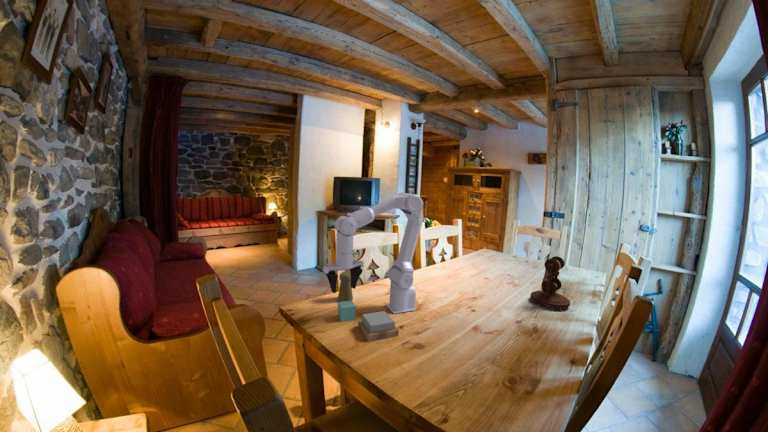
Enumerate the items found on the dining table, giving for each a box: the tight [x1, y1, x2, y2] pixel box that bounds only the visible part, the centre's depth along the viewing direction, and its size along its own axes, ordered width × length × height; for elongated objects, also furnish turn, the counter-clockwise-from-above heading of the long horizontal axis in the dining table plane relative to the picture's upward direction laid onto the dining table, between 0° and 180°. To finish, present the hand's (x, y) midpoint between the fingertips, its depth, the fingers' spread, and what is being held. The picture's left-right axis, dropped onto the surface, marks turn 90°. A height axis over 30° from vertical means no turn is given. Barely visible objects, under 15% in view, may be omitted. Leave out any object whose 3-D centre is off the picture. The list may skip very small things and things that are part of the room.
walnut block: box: [357, 319, 400, 342], centre depth 98 cm, size 10×10×2 cm
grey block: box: [361, 310, 396, 333], centre depth 98 cm, size 8×8×2 cm
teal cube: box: [337, 300, 357, 322], centre depth 106 cm, size 5×5×5 cm
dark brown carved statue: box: [530, 255, 571, 312], centre depth 126 cm, size 15×15×20 cm
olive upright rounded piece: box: [337, 271, 354, 302], centre depth 121 cm, size 6×6×11 cm
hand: (343, 289), depth 104 cm, fingers open, 7 cm apart
